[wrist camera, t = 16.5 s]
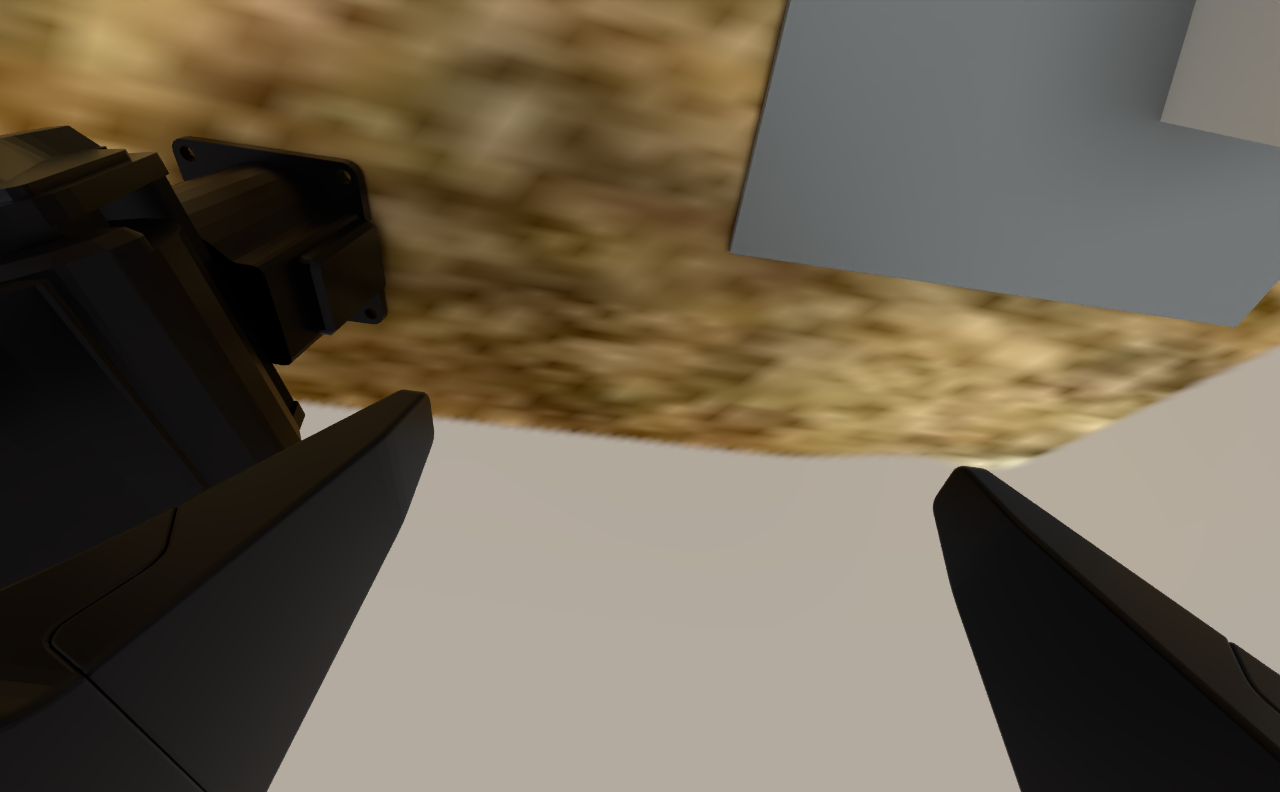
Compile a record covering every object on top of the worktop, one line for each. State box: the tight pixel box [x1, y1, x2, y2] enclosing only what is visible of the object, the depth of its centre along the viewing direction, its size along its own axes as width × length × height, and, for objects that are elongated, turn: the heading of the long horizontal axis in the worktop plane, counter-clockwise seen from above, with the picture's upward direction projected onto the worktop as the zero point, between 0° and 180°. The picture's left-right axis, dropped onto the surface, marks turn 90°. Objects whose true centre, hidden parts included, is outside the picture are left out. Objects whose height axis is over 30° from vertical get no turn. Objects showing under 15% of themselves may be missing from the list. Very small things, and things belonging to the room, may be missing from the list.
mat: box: [729, 0, 1280, 327], centre depth 16 cm, size 20×14×1 cm
